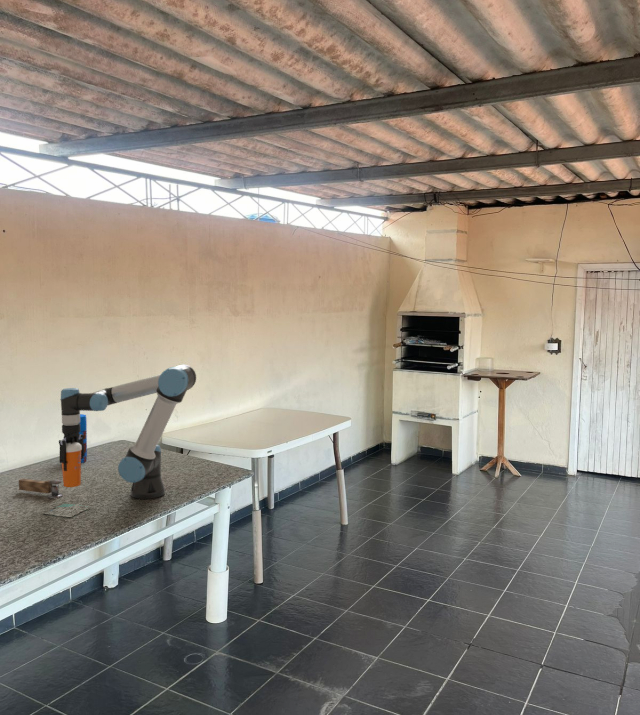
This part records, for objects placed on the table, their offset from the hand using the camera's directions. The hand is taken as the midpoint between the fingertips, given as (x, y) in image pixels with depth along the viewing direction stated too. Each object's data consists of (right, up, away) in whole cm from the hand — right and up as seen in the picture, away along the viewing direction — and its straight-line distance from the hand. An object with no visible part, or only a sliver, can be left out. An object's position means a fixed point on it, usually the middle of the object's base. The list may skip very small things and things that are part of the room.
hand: (73, 475), depth 279 cm
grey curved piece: (-10, -10, +5) cm, 15 cm away
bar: (-18, -9, +7) cm, 21 cm away
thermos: (-23, -5, +65) cm, 69 cm away
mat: (+3, -12, -14) cm, 19 cm away
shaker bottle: (0, -4, 0) cm, 4 cm away
